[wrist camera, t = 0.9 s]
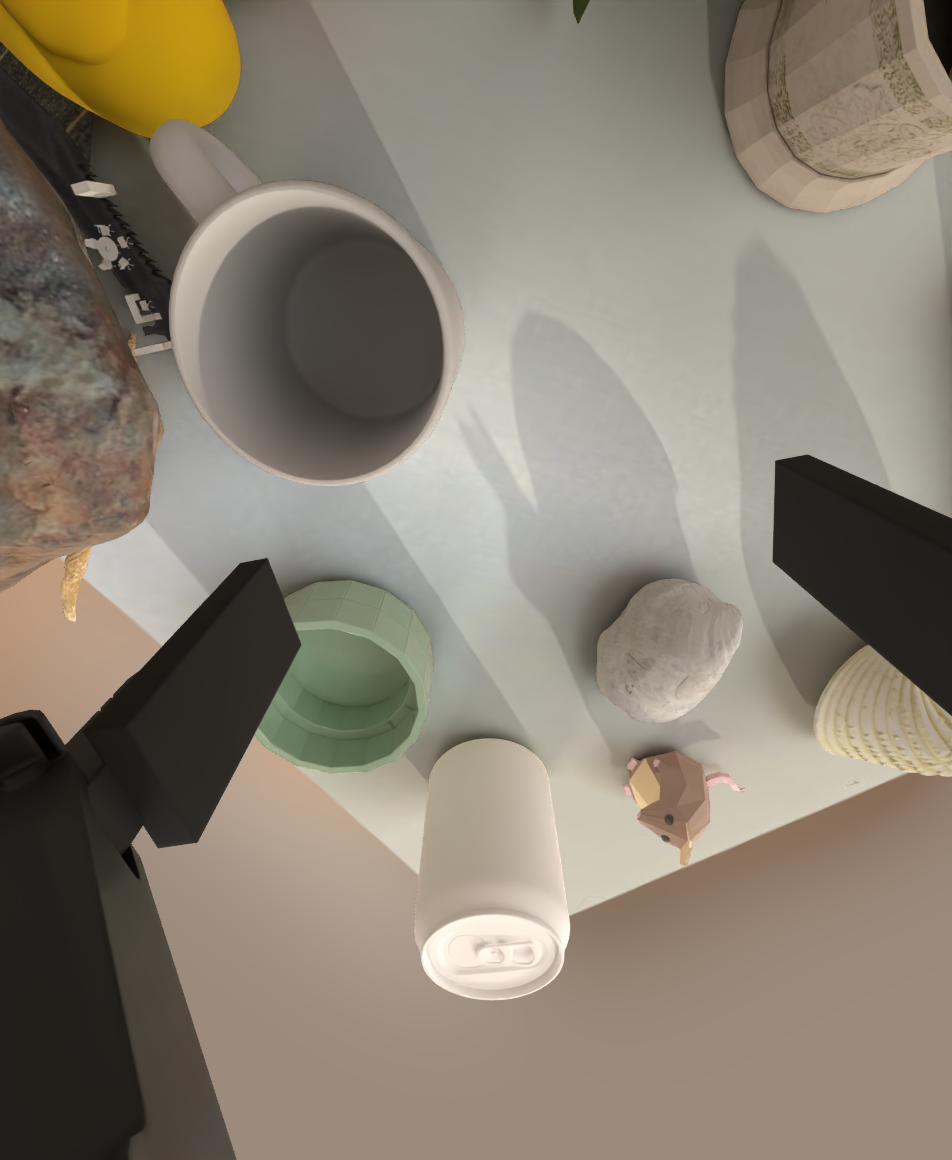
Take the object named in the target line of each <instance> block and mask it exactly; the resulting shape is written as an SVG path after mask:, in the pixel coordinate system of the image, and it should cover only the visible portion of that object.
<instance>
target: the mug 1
mask: <svg viewBox="0 0 952 1160" xmlns="http://www.w3.org/2000/svg"><path fill="white" fill-rule="evenodd" d="M149 151H150V154H151V157H152V160H153V162H154V165H155V167H156V169H157V170H158V172H159V174H160V175H161V177H162V178H163V179H164V181H165V182H166V184H167V185H168V186H169V188H170V189H171V190H172V191H173V193H174V194H175V195H176V196H177V198H178V199H179V200H180V201H181V203H182V204H183V205H184V206H185V207H186V209H187V210H188V211H189V212H190V214H191V215H192V216H193V217H194V218H195V220H196V221H197V222H198V224H199V226H198V227H197V228H196V229H195V231H194V232H193V233H192V235H191V236H190V238H189V240H188V242H187V243H186V245H185V247H184V249H183V251H182V253H181V255H180V258H179V261H178V263H177V266H176V269H175V272H174V277H173V281H172V286H171V290H170V301H169V330H170V337H171V343H172V349H173V353H174V357H175V360H176V364H177V367H178V370H179V373H180V375H181V378H182V380H183V383H184V385H185V388H186V390H187V391H188V393H189V395H190V397H191V399H192V401H193V403H194V404H195V406H196V408H197V409H198V410H199V412H200V413H201V415H202V416H203V418H204V419H205V421H206V422H207V423H208V424H209V425H210V427H211V428H212V429H213V430H214V431H215V432H216V434H217V435H218V436H219V437H220V438H221V439H222V440H223V441H224V442H225V443H226V444H228V445H229V446H230V447H231V448H232V449H233V450H234V451H236V452H237V453H238V454H240V455H241V456H242V457H244V458H245V459H246V460H248V461H249V462H251V463H253V464H254V465H256V466H258V467H259V468H261V469H263V470H265V471H267V472H270V473H272V474H274V475H276V476H278V477H281V478H285V479H288V480H291V481H294V482H298V483H303V484H309V485H317V486H342V485H350V484H355V483H360V482H364V481H367V480H370V479H373V478H376V477H378V476H380V475H382V474H384V473H386V472H388V471H390V470H392V469H393V468H395V467H396V466H398V465H399V464H401V463H402V462H404V461H405V460H406V459H407V458H409V457H410V456H411V455H412V454H413V453H414V452H415V451H416V450H417V449H418V448H419V447H420V446H421V445H422V444H423V442H424V441H425V440H426V439H427V438H428V436H429V435H430V434H431V432H432V430H433V429H434V427H435V426H436V424H437V422H438V421H439V419H440V417H441V414H442V412H443V410H444V408H445V406H446V403H447V401H448V397H449V394H450V391H451V388H452V385H453V382H454V380H455V378H456V375H457V373H458V370H459V367H460V364H461V361H462V356H463V350H464V338H465V330H464V319H463V313H462V308H461V304H460V301H459V298H458V295H457V292H456V290H455V288H454V286H453V283H452V281H451V279H450V278H449V276H448V274H447V273H446V271H445V270H444V268H443V267H442V266H441V264H440V263H439V262H438V260H437V259H436V258H435V257H434V256H433V255H432V254H431V253H430V252H429V251H428V250H427V249H426V248H425V247H424V246H422V245H421V244H420V243H418V242H417V241H416V240H415V239H414V238H413V237H412V236H411V235H410V234H409V233H408V232H407V231H406V230H405V229H404V228H403V227H402V226H401V225H400V224H399V223H398V222H397V221H396V220H395V219H394V218H392V217H391V216H390V215H388V214H387V213H386V212H384V211H383V210H382V209H380V208H379V207H378V206H376V205H375V204H373V203H371V202H369V201H368V200H366V199H364V198H362V197H360V196H359V195H357V194H354V193H352V192H349V191H347V190H344V189H342V188H339V187H337V186H333V185H329V184H324V183H320V182H316V181H304V180H283V181H272V182H268V183H264V184H263V183H262V181H261V180H260V179H259V178H258V177H257V176H256V175H255V173H254V172H253V171H252V170H251V169H250V168H249V167H248V166H247V165H246V164H245V163H244V162H243V161H242V160H241V159H240V158H239V157H238V156H237V155H236V154H235V153H234V152H232V151H231V150H230V149H229V148H228V147H227V146H225V145H224V144H223V143H222V142H221V141H219V140H218V139H217V138H215V137H214V136H213V135H211V134H210V133H209V132H207V131H206V130H204V129H203V128H201V127H199V126H197V125H196V124H194V123H191V122H189V121H185V120H181V119H172V120H169V121H165V122H164V123H163V124H162V125H161V126H159V127H158V128H157V130H156V131H155V133H154V135H153V136H152V138H151V140H150V147H149Z"/></svg>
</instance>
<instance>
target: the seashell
mask: <svg viewBox="0 0 952 1160" xmlns="http://www.w3.org/2000/svg"><path fill="white" fill-rule="evenodd" d="M813 725H814V733H815V737H816V739H817V741H818V743H819V744H820V746H821V747H822V748H823V749H824V750H826V751H827V752H828V753H829V754H838V755H841V756H849V757H851V758H855V759H863V760H865V761H868V762H872V763H879V764H881V765H884V766H888V767H891V768H898V769H900V770H901V771H906V772H916V773H920V774H922V775H927V776H930V775H937V774H939V775H941V776H948V777H949V776H952V716H951V715H950V714H948V713H947V712H946V711H945V710H944V709H943V708H941V707H940V706H939V705H938V704H937V703H936V702H934V701H933V700H932V699H931V698H930V697H929V696H927V695H926V694H925V693H924V692H923V691H922V690H921V689H919V688H918V687H917V686H916V685H915V684H914V683H912V682H911V681H910V680H909V679H908V678H907V677H905V676H904V675H903V674H902V673H901V672H900V671H899V670H897V669H896V668H895V667H894V666H893V665H892V664H890V663H889V662H888V661H887V660H886V659H885V658H883V657H882V656H881V655H880V654H879V653H878V652H877V651H875V650H874V649H873V648H872V647H871V646H870V645H866V646H865V647H863V648H862V649H860V650H859V651H858V652H856V653H855V654H854V655H853V656H851V657H850V658H849V659H848V660H847V661H846V662H845V663H844V664H843V665H842V666H841V667H840V668H839V669H838V670H837V672H836V673H835V674H834V675H833V676H832V678H831V679H830V681H829V682H828V684H827V686H826V688H825V689H824V691H823V693H822V695H821V697H820V699H819V701H818V704H817V707H816V710H815V714H814V719H813Z"/></svg>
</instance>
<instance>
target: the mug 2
mask: <svg viewBox="0 0 952 1160" xmlns="http://www.w3.org/2000/svg"><path fill="white" fill-rule="evenodd" d="M725 118H726V122H727V125H728V129H729V133H730V137H731V140H732V144H733V148H734V151H735V155H736V157H737V159H738V160H739V162H740V163H741V165H742V166H743V168H744V169H745V171H746V172H747V174H748V175H749V177H750V178H751V179H752V181H753V182H754V184H755V185H756V187H757V188H758V189H760V190H761V191H763V192H764V193H766V194H767V195H769V196H770V197H772V198H773V199H775V200H776V201H778V202H779V203H781V204H783V205H784V206H786V207H788V208H794V209H800V210H806V211H811V212H817V213H826V212H831V211H836V210H840V209H845V208H850V207H855V206H860V205H863V204H865V203H867V202H868V201H870V200H872V199H874V198H876V197H878V196H879V195H881V194H883V193H885V192H887V191H889V190H890V189H892V188H894V187H896V186H898V185H899V184H901V183H902V182H903V181H904V180H905V179H906V178H907V177H908V176H910V175H911V174H912V173H913V172H914V171H915V170H916V169H917V168H918V167H919V166H920V165H921V164H922V163H923V162H925V161H926V160H927V159H928V158H930V157H933V156H937V155H940V154H943V153H946V152H949V151H952V68H951V70H950V73H949V75H947V73H946V71H945V69H944V67H943V65H942V63H941V61H940V59H939V57H938V56H937V54H936V52H935V50H934V48H933V46H932V44H931V42H930V40H929V38H928V31H927V23H926V16H925V9H924V1H923V0H745V1H744V3H743V5H742V7H741V8H740V10H739V13H738V17H737V21H736V25H735V29H734V32H733V36H732V40H731V44H730V48H729V52H728V56H727V60H726V64H725Z"/></svg>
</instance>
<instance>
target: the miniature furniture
mask: <svg viewBox="0 0 952 1160" xmlns="http://www.w3.org/2000/svg"><path fill="white" fill-rule="evenodd" d="M71 187H72V189H73V191H74V193H75V195H79V196H90V197H96V198H105V197H109V196H112V195H116V194H117V193H116V191H115V188H114V186H113V185H111V184H105V183H98V182H92V181H83V182H79V183H76V184H72V185H71ZM94 226H97V227H100V229H101V232H102V235H103V236H106V235H109V236H111V235H110V233H109V231H110V230H109V227H108V226H105V225H104V226H103V225H94ZM109 226H110V224H109ZM98 230H99V228H98ZM112 232H114V231H112ZM99 233H100V232H99ZM123 238H124V237H123V236H121V237H119V238H117V239H118V242H119V244H120V246H121V248H126V246H127V247H128V245H127V241H125V240H124V239H123ZM128 238H129V237H128ZM128 238H127V239H128ZM84 240H85V247H90V248H92V249H98V251H99V253H100V255H101V256H102V257H103V258H104V260H103V263H102V264H101V262H100V265H98V266H97V267H99V268H100V269H102V270H107V269H108V270H112V269H110V268H111V261H114V260H116V259H117V257H118V253H119V252H118V249H117V246H116V244H115V243H114V242H113V241H112V240H111V239H110V238H108V237H101V238H100V239H99V240H98V241H97V240H96V239H93V238H90V239H84ZM129 244H130V243H129ZM107 246H108V247H107ZM118 246H119V245H118ZM105 248H106V249H105ZM106 250H107V251H106ZM128 260H130V259H128ZM101 261H102V260H101ZM119 264H120V265H121V266H122V267H121V268H120V269H125V267H126V265H128V264H129V262H128V261H127V260H126V259H124V258H123V257H122V258H121V259H120V261H119ZM119 264H118V265H119ZM129 265H131V264H129ZM112 266H113V265H112ZM132 266H134V265H132ZM115 267H116V266H115ZM128 268H129V267H128ZM129 270H130V269H129ZM112 271H113V270H112ZM124 297H125V299H126V301H127V304H128V306H129V308H130V310H131V313H132V315H133V317H134V320H135V322H136V324H140V323H145V322H150V321H153V320H158V319H162V318H161V315H160V313H154V314H150V315H145V316H141V314H140V312H139V310H138V307H137V305H136V303H135V301H136V300H140V298H139V295H138V294H131V295H126V296H124ZM145 301H146V300H144V301H140V302H139V303H140V305H141V308H142V310H143V311H144V310H149V309H148V307H147V306H149V305H147V303H146V302H145ZM150 302H151V301H150ZM148 304H149V303H148ZM150 307H151V306H150ZM153 308H154V307H153ZM171 348H172V343H171V341H168V342H163V343H159V344H154V345H149V346H145V347H141V348H136V349H133V350H134V353H135V355H136V356H139V355H144V354H148V353H153V352H158V351H163V350H167V349H171Z"/></svg>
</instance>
